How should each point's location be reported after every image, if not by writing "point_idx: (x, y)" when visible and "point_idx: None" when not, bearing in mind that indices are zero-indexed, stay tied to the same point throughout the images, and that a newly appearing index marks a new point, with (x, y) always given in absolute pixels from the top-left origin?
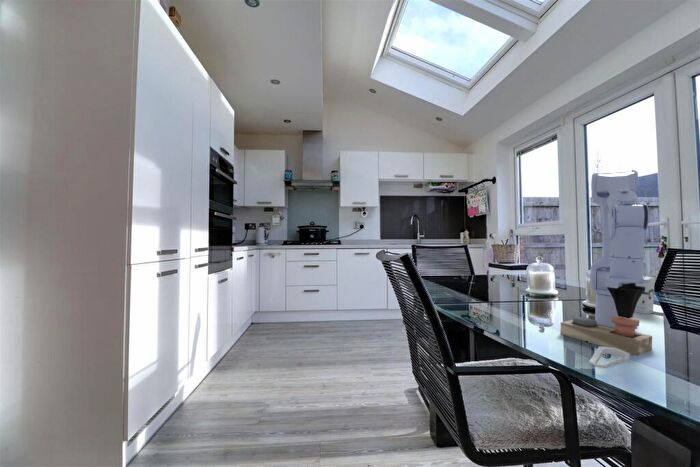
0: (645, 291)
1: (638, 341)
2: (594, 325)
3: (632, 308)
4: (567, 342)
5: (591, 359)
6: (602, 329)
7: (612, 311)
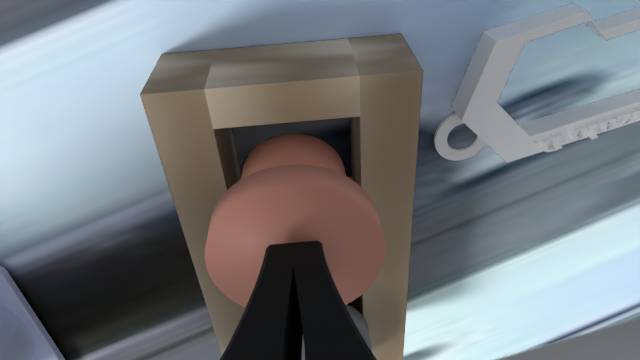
0: None
1: (388, 72)
2: None
3: (318, 304)
4: (491, 254)
5: None
6: None
7: None
